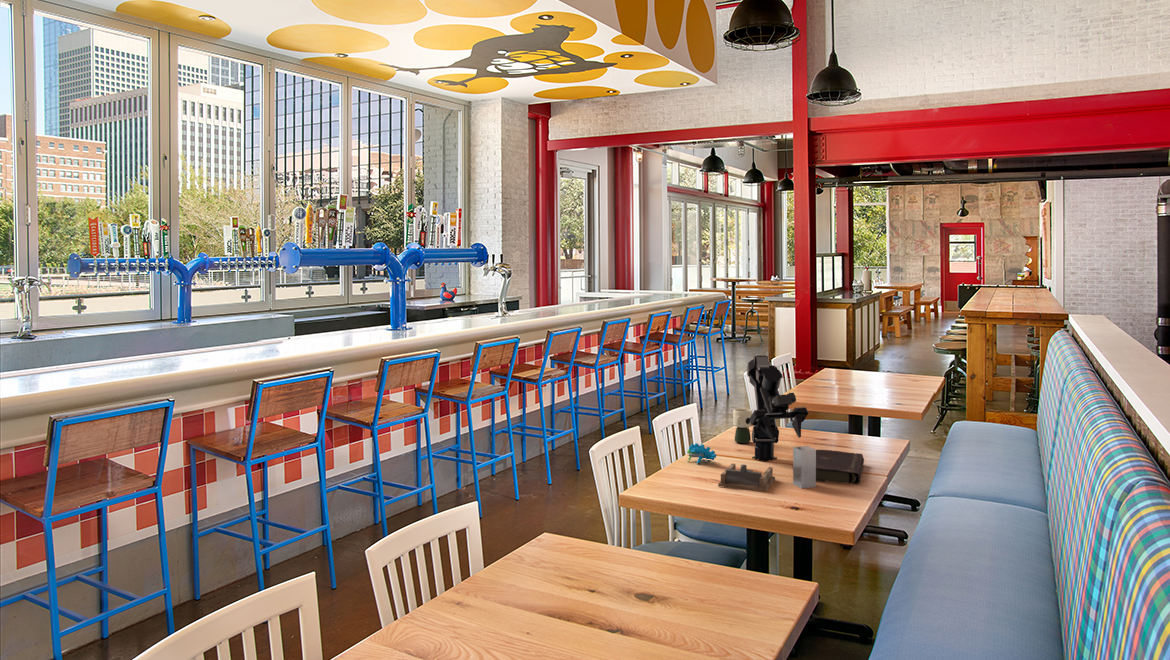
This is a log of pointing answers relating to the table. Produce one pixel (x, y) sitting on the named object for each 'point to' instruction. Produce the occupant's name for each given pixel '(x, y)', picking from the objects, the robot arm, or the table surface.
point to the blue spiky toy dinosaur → (700, 452)
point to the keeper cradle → (746, 478)
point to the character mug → (742, 425)
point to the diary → (838, 466)
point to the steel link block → (804, 467)
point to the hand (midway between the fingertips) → (786, 438)
